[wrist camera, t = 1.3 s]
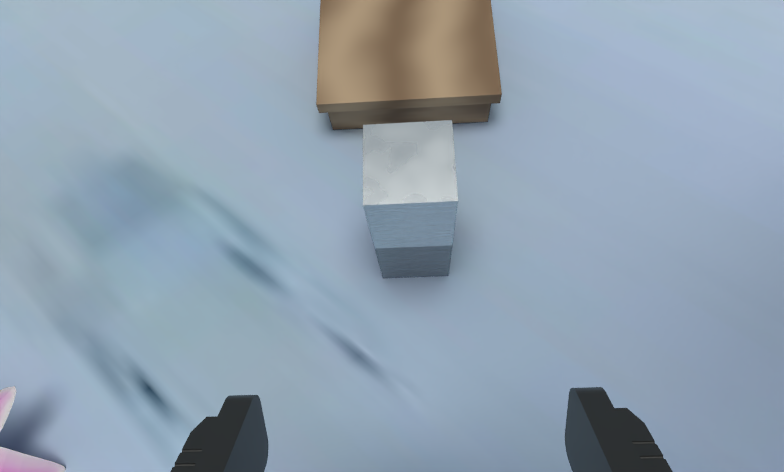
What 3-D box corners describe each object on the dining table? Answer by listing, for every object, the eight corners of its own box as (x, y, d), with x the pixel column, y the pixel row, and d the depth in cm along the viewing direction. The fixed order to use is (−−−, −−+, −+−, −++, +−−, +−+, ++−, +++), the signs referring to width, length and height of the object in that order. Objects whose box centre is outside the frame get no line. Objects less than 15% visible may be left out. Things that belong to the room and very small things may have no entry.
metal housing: (444, 215, 37) (452, 120, 26) (448, 275, 35) (458, 200, 24) (382, 218, 37) (363, 124, 26) (383, 278, 36) (362, 205, 24)
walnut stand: (480, -3, 44) (485, -43, 40) (494, 126, 39) (501, 94, 36) (330, 7, 45) (321, -32, 41) (326, 135, 40) (316, 104, 36)
